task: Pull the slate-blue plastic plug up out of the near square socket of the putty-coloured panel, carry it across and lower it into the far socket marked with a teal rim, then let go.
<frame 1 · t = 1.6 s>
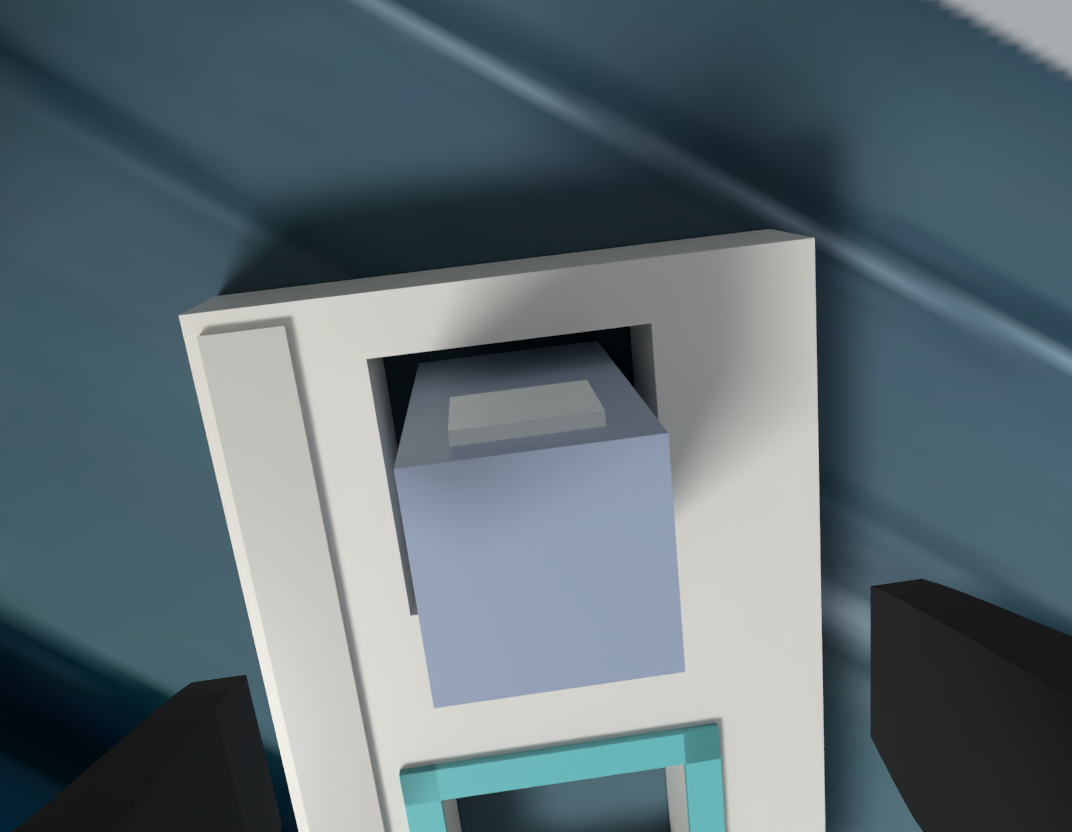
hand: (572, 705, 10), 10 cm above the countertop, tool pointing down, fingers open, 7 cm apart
plug: (518, 436, 20), resting in panel
panel: (542, 630, 21), on the countertop
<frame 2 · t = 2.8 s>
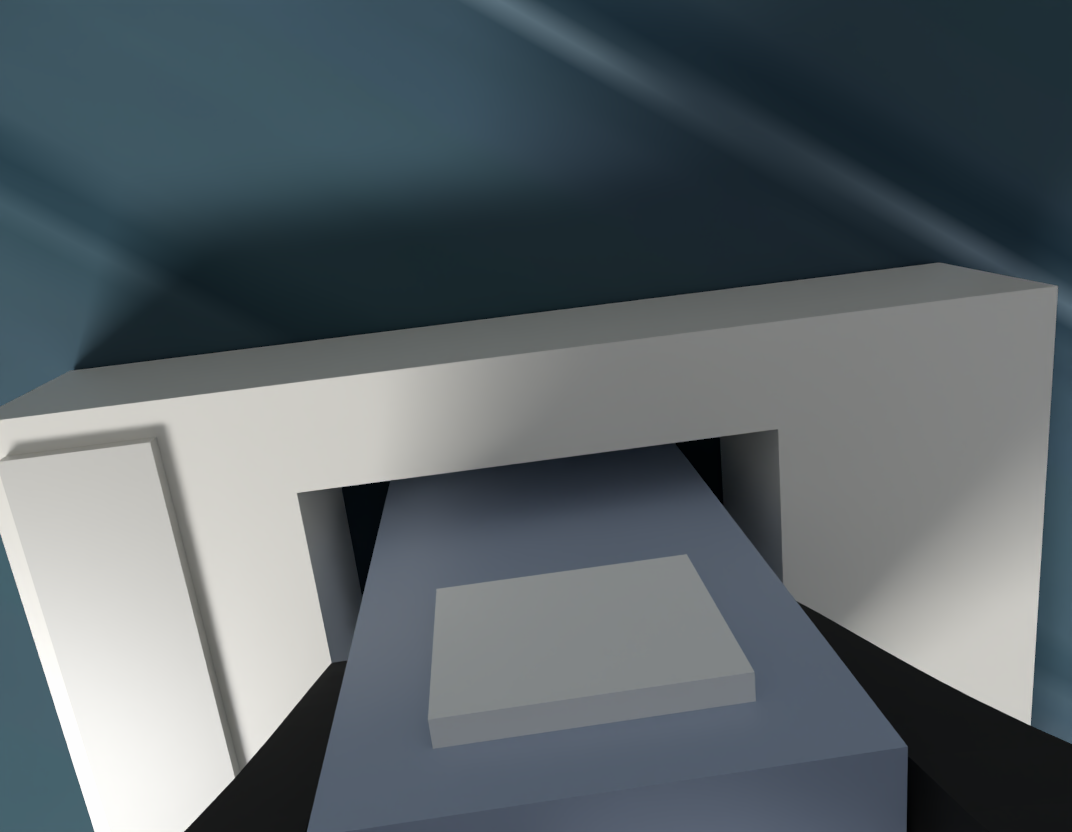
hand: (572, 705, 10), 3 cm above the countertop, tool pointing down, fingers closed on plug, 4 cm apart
plug: (546, 577, 13), resting in panel, touching gripper
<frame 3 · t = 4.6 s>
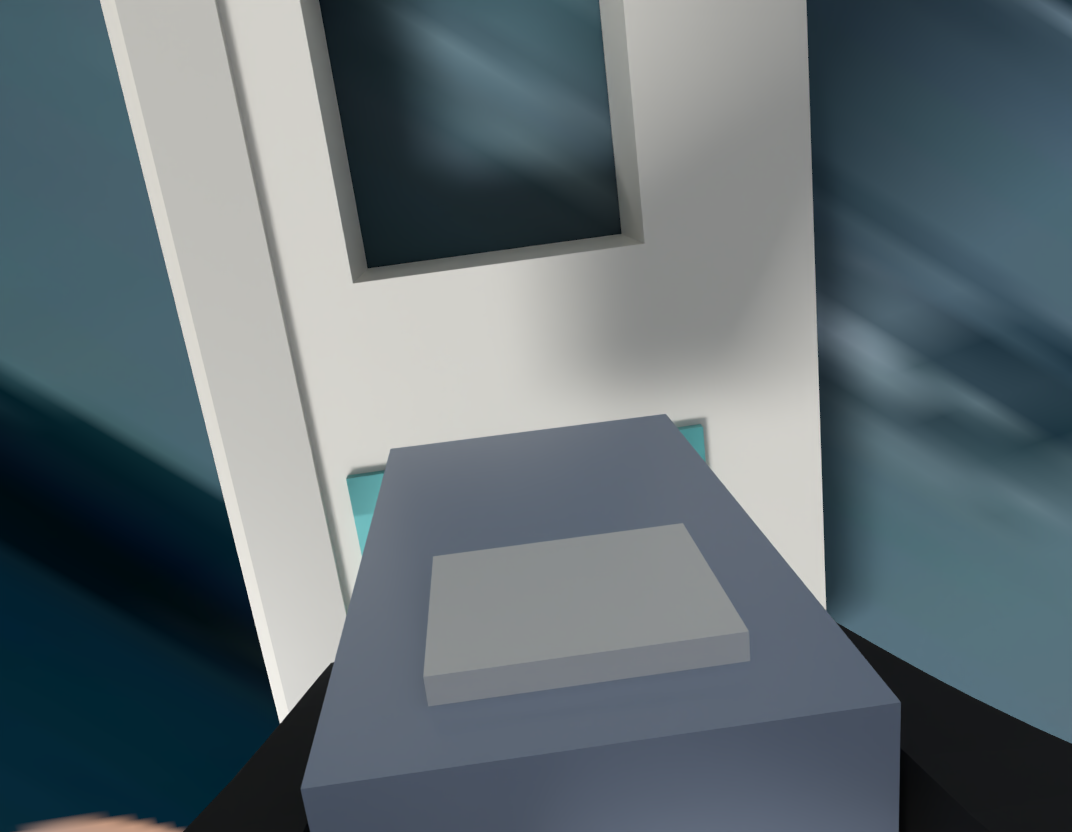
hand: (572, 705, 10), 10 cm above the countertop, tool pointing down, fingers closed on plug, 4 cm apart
plug: (543, 556, 13), point 7 cm above the countertop, touching gripper
panel: (509, 352, 19), on the countertop
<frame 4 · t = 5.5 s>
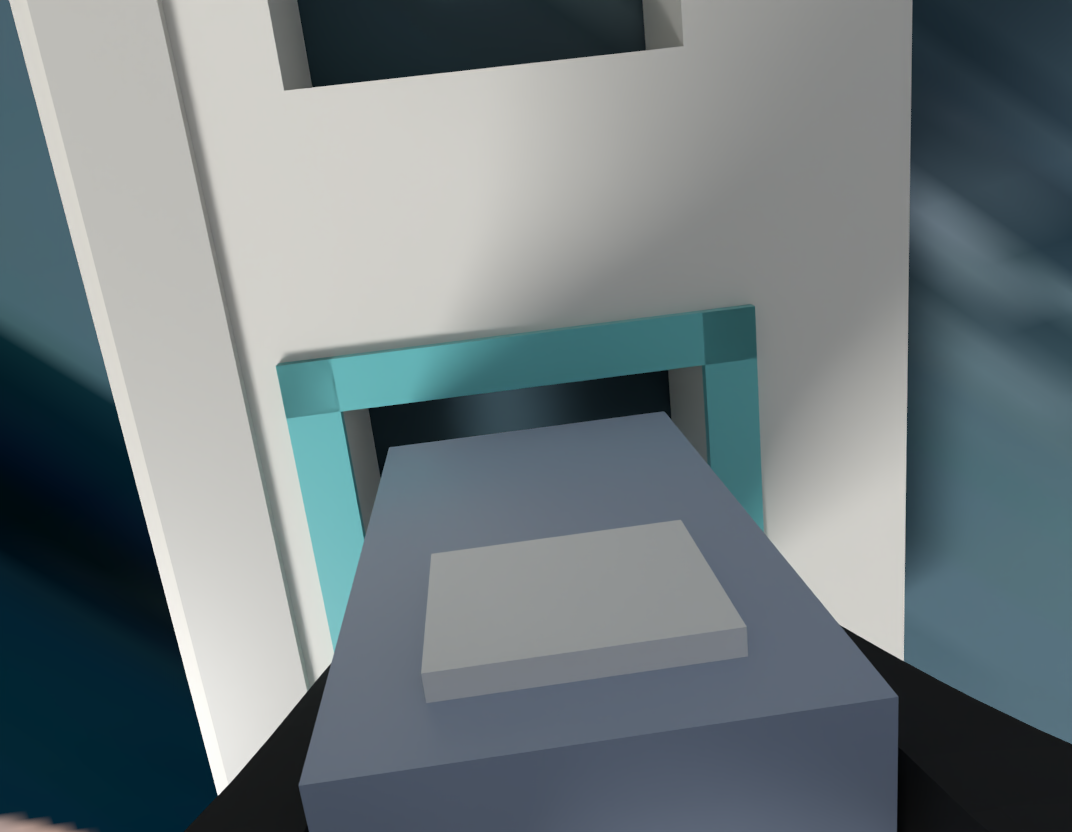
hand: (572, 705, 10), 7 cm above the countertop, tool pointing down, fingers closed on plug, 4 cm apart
plug: (542, 554, 13), point 3 cm above the countertop, touching gripper
panel: (499, 223, 15), on the countertop
when the fingers open (4 cm above the countertop, at t = 6.3 s): plug drops 1 cm, resting in panel.
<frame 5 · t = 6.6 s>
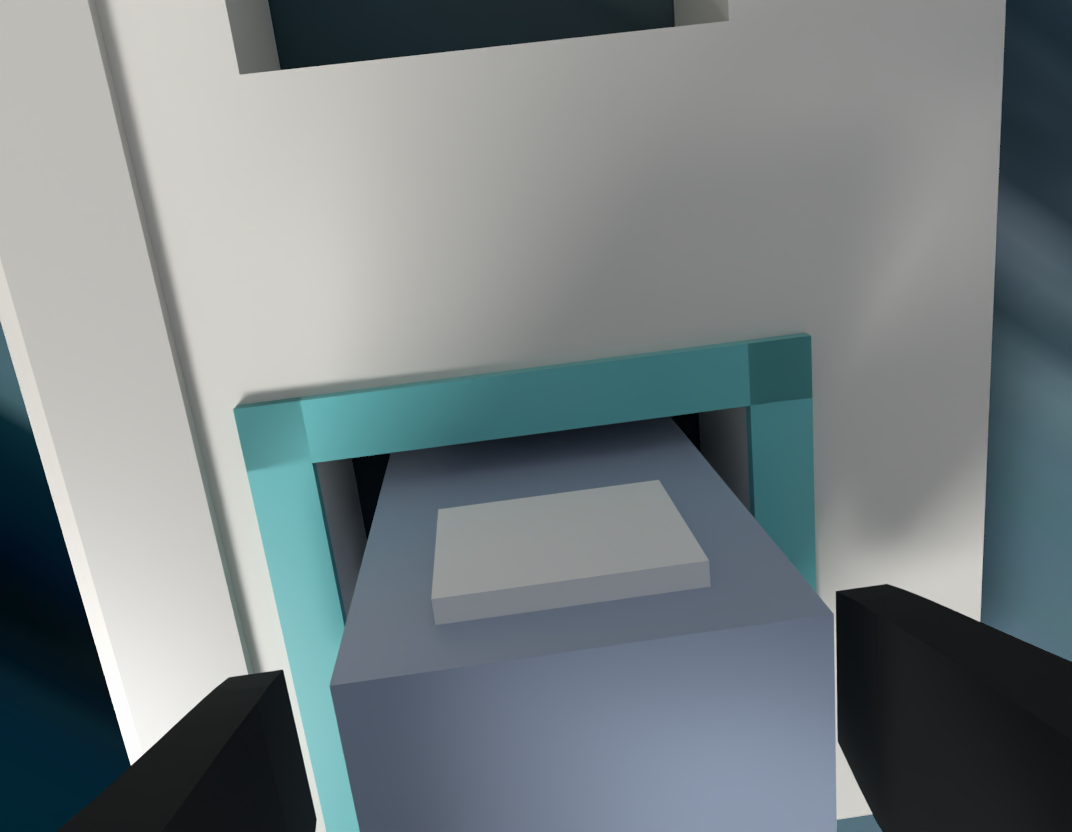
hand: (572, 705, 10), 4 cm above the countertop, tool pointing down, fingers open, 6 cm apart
plug: (539, 526, 14), resting in panel
panel: (502, 234, 13), on the countertop
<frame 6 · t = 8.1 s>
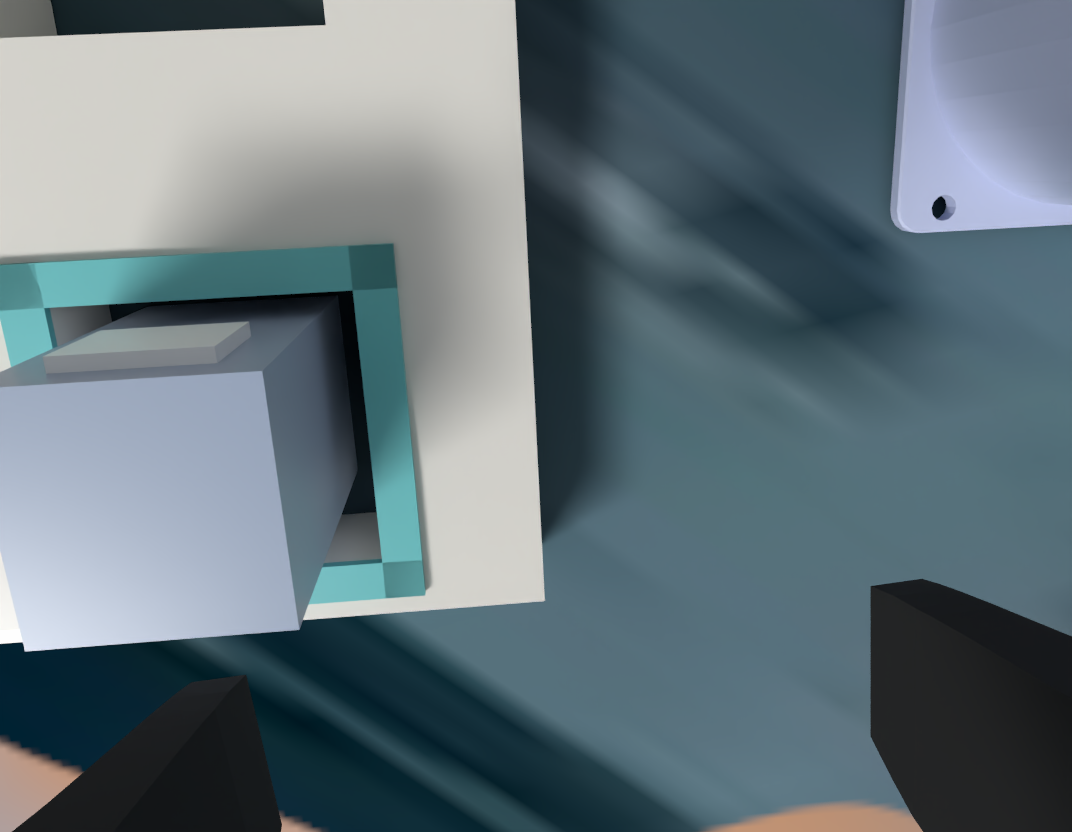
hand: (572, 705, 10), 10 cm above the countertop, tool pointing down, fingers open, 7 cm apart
plug: (256, 391, 19), resting in panel
panel: (222, 169, 17), on the countertop
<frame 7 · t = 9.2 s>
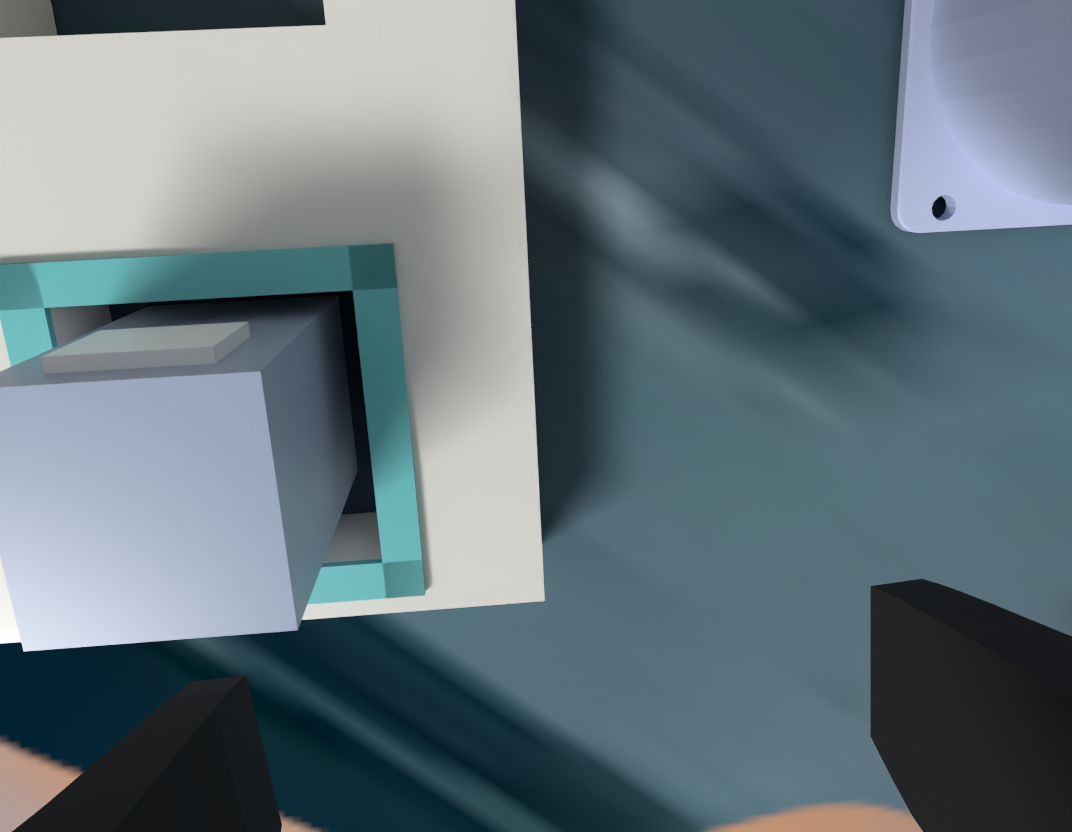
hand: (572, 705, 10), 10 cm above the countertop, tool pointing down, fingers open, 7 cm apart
plug: (256, 391, 19), resting in panel
panel: (222, 169, 17), on the countertop
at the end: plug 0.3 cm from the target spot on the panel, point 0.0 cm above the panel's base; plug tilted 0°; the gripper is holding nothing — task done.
